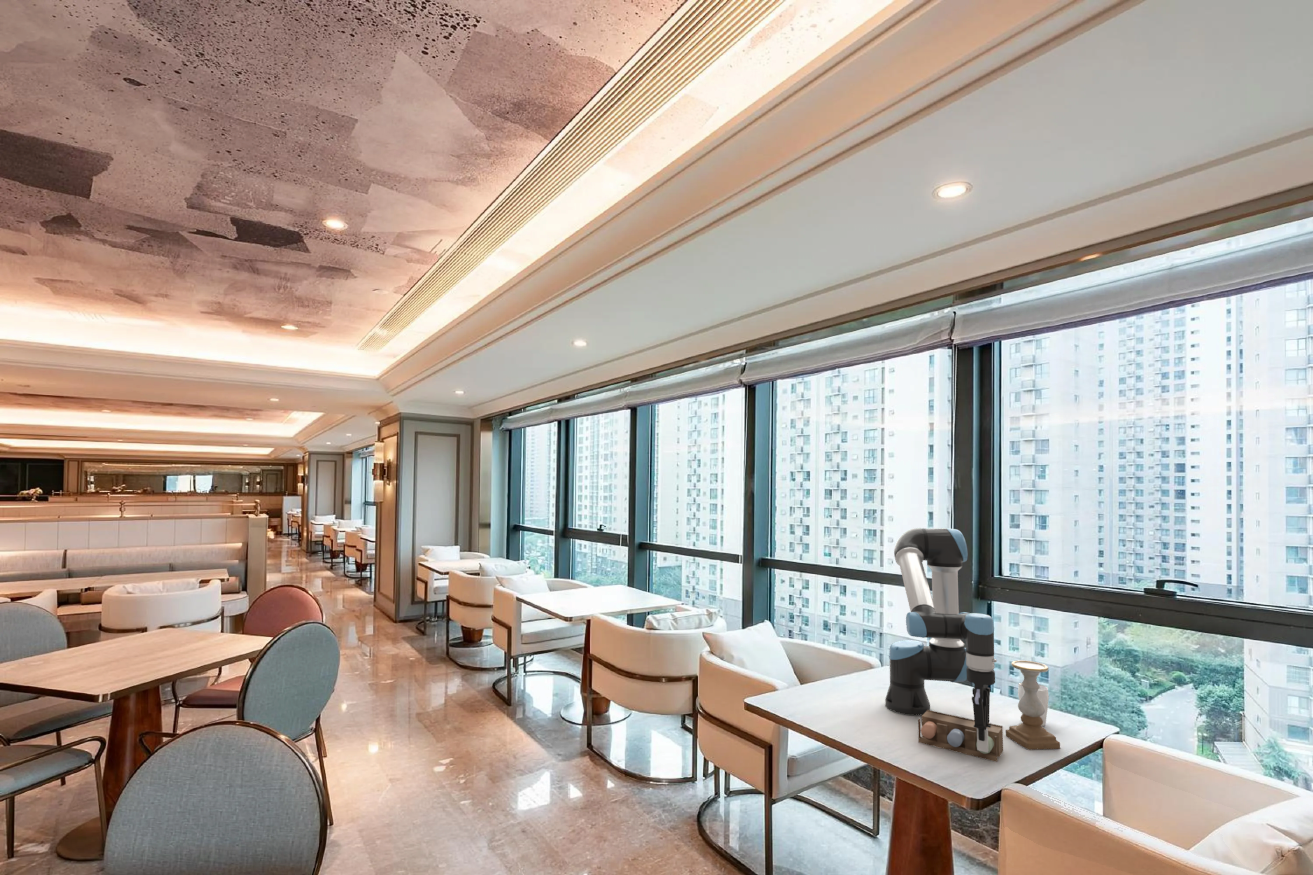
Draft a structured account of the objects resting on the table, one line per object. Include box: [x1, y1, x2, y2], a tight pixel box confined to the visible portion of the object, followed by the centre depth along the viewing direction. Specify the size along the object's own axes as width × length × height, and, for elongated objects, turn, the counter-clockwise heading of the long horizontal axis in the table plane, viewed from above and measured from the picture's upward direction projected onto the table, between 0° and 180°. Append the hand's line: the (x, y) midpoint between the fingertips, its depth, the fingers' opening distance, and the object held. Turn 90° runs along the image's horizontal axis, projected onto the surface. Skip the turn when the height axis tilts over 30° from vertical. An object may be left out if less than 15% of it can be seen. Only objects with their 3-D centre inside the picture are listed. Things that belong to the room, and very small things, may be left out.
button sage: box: [976, 736, 994, 754], centre depth 187 cm, size 4×4×4 cm
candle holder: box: [1005, 659, 1061, 751], centre depth 200 cm, size 11×11×24 cm
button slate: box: [947, 729, 964, 747], centre depth 192 cm, size 4×4×4 cm
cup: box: [1017, 682, 1050, 727], centre depth 216 cm, size 9×9×12 cm
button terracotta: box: [920, 721, 937, 739], centre depth 198 cm, size 4×4×4 cm
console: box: [917, 709, 1004, 763], centre depth 196 cm, size 22×10×7 cm, turn 52°
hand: (982, 750), depth 185 cm, fingers closed
